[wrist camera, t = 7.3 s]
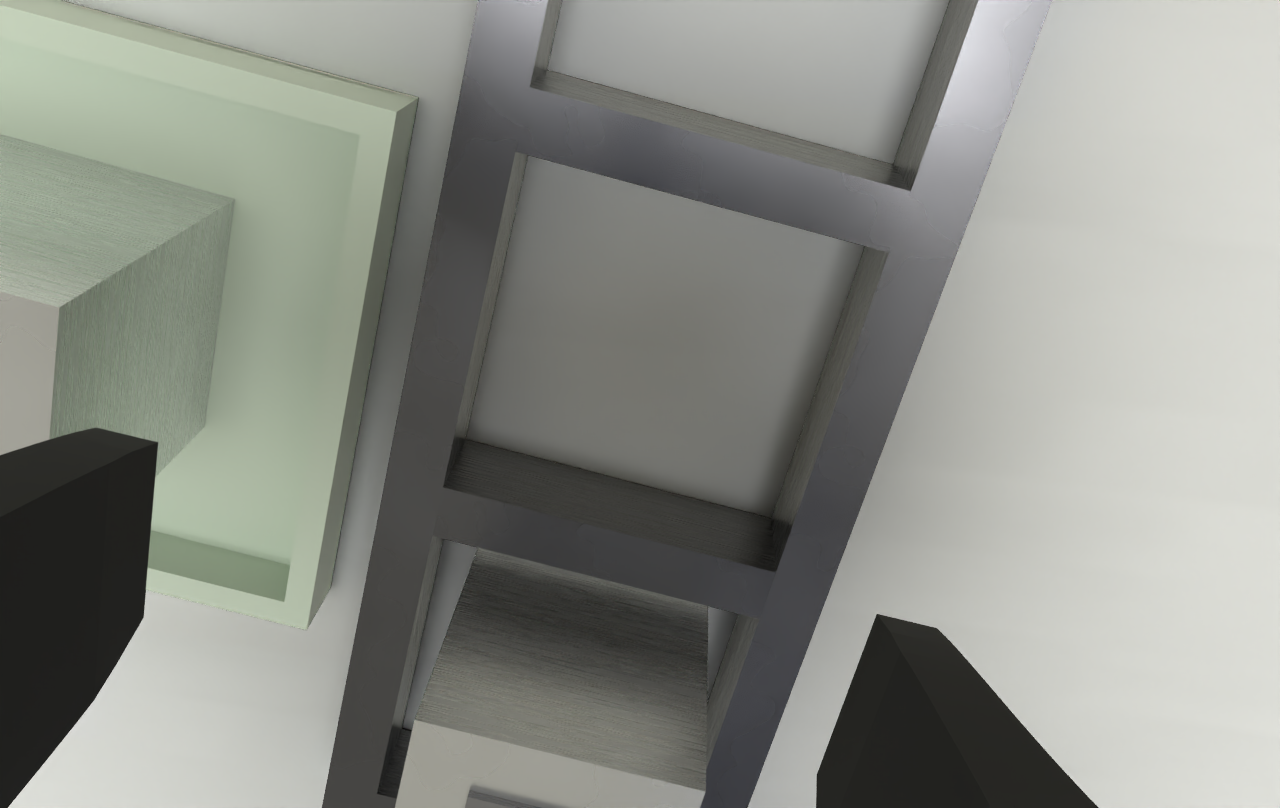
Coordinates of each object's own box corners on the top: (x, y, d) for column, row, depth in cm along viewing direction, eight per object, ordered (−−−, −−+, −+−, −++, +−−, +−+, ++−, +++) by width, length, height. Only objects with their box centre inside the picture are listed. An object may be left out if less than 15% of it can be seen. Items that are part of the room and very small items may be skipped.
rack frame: (708, 841, 26) (706, 914, 24) (348, 753, 26) (319, 820, 24) (1119, -282, 17) (1166, -304, 16) (586, -439, 17) (570, -480, 15)
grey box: (204, 426, 22) (31, 604, 17) (-33, 363, 22) (-291, 521, 17) (235, 198, 21) (52, 311, 15) (-23, 127, 20) (-306, 214, 15)
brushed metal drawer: (650, 758, 25) (631, 1006, 20) (443, 707, 25) (363, 942, 19) (708, 582, 23) (705, 798, 18) (485, 525, 23) (412, 726, 18)
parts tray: (330, 588, 24) (306, 630, 23) (-166, 463, 24) (-221, 498, 22) (419, 97, 20) (396, 112, 19) (-173, -63, 20) (-241, -61, 18)
